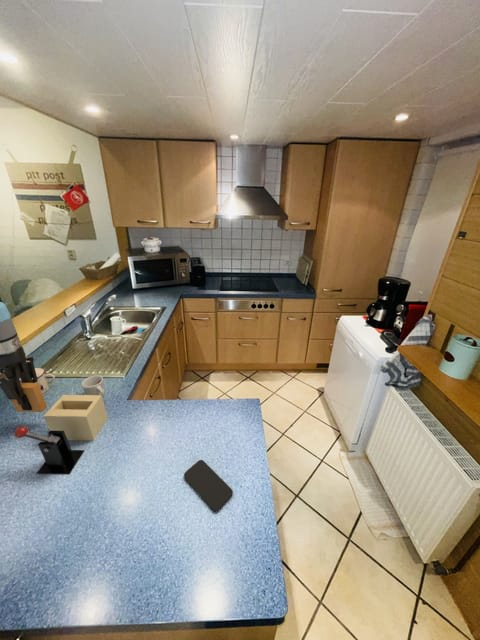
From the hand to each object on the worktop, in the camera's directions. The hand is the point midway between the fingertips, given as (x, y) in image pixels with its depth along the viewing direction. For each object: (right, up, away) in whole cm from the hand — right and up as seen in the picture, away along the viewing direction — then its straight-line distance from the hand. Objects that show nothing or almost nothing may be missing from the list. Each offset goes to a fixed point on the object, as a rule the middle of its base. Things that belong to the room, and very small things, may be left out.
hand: (31, 406), depth 89 cm
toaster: (+17, -10, +2) cm, 20 cm away
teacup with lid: (-13, 0, +21) cm, 25 cm away
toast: (0, -1, +1) cm, 2 cm away
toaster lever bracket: (+18, -15, -10) cm, 25 cm away
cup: (+14, -3, +18) cm, 23 cm away
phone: (+65, -18, -15) cm, 69 cm away
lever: (+13, -5, -14) cm, 20 cm away
